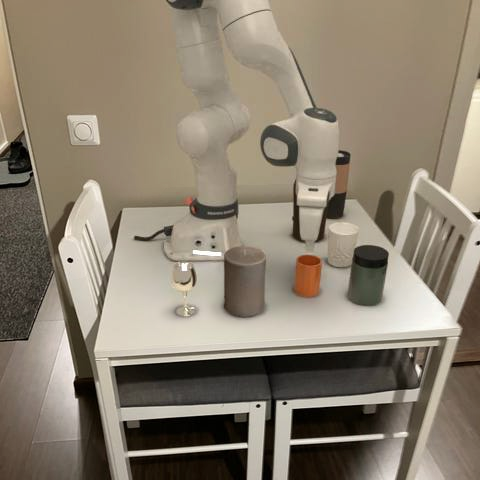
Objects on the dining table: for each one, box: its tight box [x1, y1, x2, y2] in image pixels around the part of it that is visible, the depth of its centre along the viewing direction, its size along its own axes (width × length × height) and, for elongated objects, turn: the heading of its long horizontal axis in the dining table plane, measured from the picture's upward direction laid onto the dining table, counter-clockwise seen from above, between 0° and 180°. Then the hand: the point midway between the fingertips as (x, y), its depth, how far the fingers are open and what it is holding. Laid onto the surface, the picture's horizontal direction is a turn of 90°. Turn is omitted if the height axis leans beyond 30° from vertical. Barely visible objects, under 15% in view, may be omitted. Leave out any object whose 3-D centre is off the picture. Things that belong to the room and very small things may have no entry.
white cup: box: [327, 222, 360, 268], centre depth 149 cm, size 8×8×10 cm
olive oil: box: [291, 178, 329, 243], centre depth 159 cm, size 11×11×25 cm
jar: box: [347, 258, 389, 307], centre depth 133 cm, size 8×8×12 cm
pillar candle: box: [223, 245, 267, 318], centre depth 128 cm, size 10×10×15 cm
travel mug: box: [326, 149, 352, 220], centre depth 174 cm, size 8×8×20 cm
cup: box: [293, 254, 323, 298], centre depth 136 cm, size 6×6×8 cm
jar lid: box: [353, 244, 390, 268], centre depth 130 cm, size 8×8×2 cm
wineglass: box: [170, 261, 198, 317], centre depth 127 cm, size 6×6×12 cm
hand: (311, 242), depth 131 cm, fingers open, 8 cm apart
